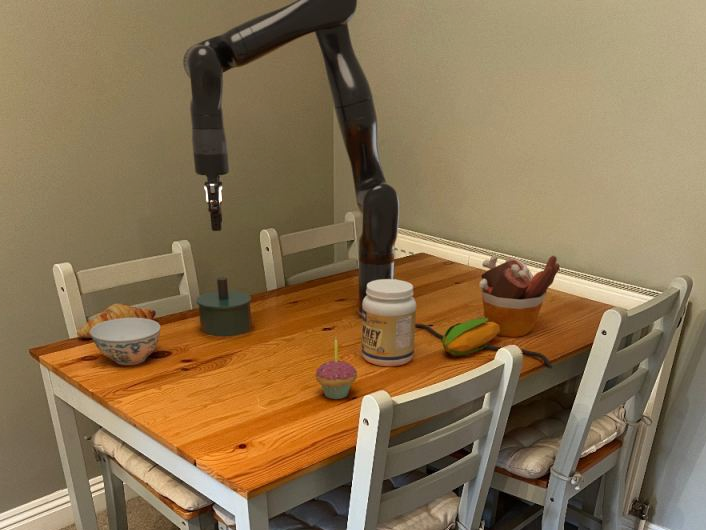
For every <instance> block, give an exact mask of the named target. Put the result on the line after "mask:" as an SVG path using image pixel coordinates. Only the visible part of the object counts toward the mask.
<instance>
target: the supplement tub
mask: <svg viewBox="0 0 706 530" xmlns="http://www.w3.org/2000/svg"><path fill="white" fill-rule="evenodd" d="M366 294H367V296H366V297H365V298H364V300H363V303H362V317H361V355H362V357H363V358H364V360H365V361H366V362H368V363H370V364H373V365H376V366H380V367H397V366H403V365H405V364H408V363H409V362H410V361H411V360H412V359H413V358H414V354H415V340H416V339H415V337H416V327H415V324H416V321H417V320H416V319H417V317H416V316H417V303H416V300H415V298H414V297H413V295H414V285H413V284H412V283H410V282H408V281H406V280H401V279H397V280H394V279H381V280H375V281H371V282H369V283H368V284H367V290H366Z"/></svg>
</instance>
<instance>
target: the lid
mask: <svg viewBox="0 0 706 530" xmlns="http://www.w3.org/2000/svg"><path fill="white" fill-rule="evenodd" d="M216 283H217V290H216V291H210V292H206V293H201V294H200V295H199V296H197V297H196V299H195V302H196V304H197V305H198V307H199V306H202V307H205V308H210V309H232V308H238V307H242V306H245V305H247V304H249V303H250V304H251V302H252V297H251V295H250V294H248V293H246V292H243V291H237V290H229V287H228V278H227V277H224V276H220V277H217V278H216Z"/></svg>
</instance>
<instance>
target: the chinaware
mask: <svg viewBox="0 0 706 530" xmlns="http://www.w3.org/2000/svg"><path fill="white" fill-rule="evenodd" d="M90 334H91V336H92V338H91V340H92V341H93V343H94V344H95V347H96V348H97V349H98V350H99V351H100V352H101V353H102V354H103V356H106V358H108V359H110V360H112V361H114V362H115V363H116V364H118V365H124V366H130V365H131V366H132V365H137V364H141V363H143V362H144V361H146V359H147V358H148V357H149V356H151V354H152V353H153V352H154V351H155V349H156V348H157V345H158V344H159V341H160V336H161V324H160V323H159V322H158V321H155V320H154V319H152V320H150V319H144V318H120V319H114V320H109V321H105V322H102V323H99V324H97V325H95V326H94V327H93V328H92V329H91V330H90Z"/></svg>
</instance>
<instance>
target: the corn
mask: <svg viewBox="0 0 706 530" xmlns="http://www.w3.org/2000/svg"><path fill="white" fill-rule="evenodd" d="M485 321H488V318H485V317H481V318H474V319H470V320H467V321H464V322H460V323H456V324H453V325H451V326H449V328H447V330H445V332H444V334H443V339H441V343H442V346H443V349H444V351H445V353H446V354H449V355H450V356H454V357H462V356H466V355H470V354H473V353H475V352H478V351H481V350H483V349H482V348H484V347H486V346H490V344H489V342H490V341H491V340H493V339H494V337H496V336H498V335H497V334H498V333H499V332H500V326H499V325H498V324H496V323H494V322H485ZM445 337H446V338H445ZM483 345H486V346H483ZM482 346H483V347H482ZM479 347H481V348H479Z"/></svg>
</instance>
